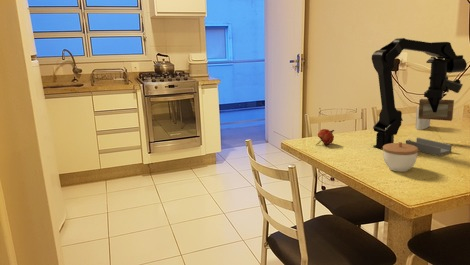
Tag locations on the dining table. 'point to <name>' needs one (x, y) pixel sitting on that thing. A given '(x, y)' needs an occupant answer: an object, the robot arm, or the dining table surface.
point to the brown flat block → (442, 112)
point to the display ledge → (431, 146)
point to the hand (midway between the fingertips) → (435, 111)
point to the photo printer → (421, 122)
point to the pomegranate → (326, 136)
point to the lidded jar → (400, 156)
